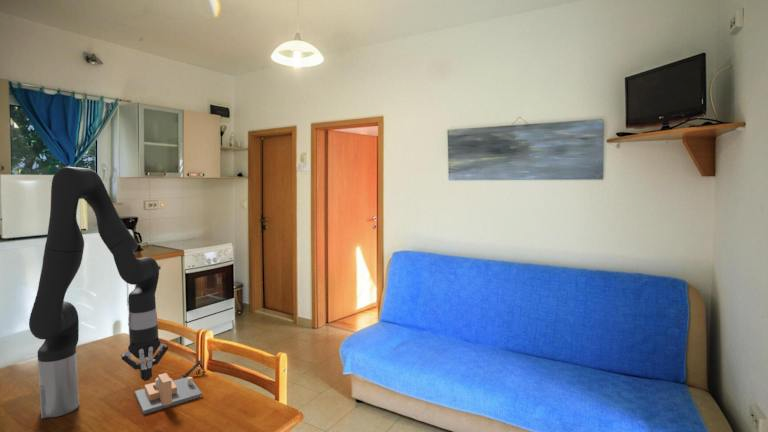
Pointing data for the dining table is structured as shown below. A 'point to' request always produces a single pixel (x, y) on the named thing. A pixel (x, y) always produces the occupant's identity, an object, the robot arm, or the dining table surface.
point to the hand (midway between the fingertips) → (146, 379)
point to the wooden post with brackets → (194, 368)
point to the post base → (184, 393)
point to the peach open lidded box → (162, 389)
